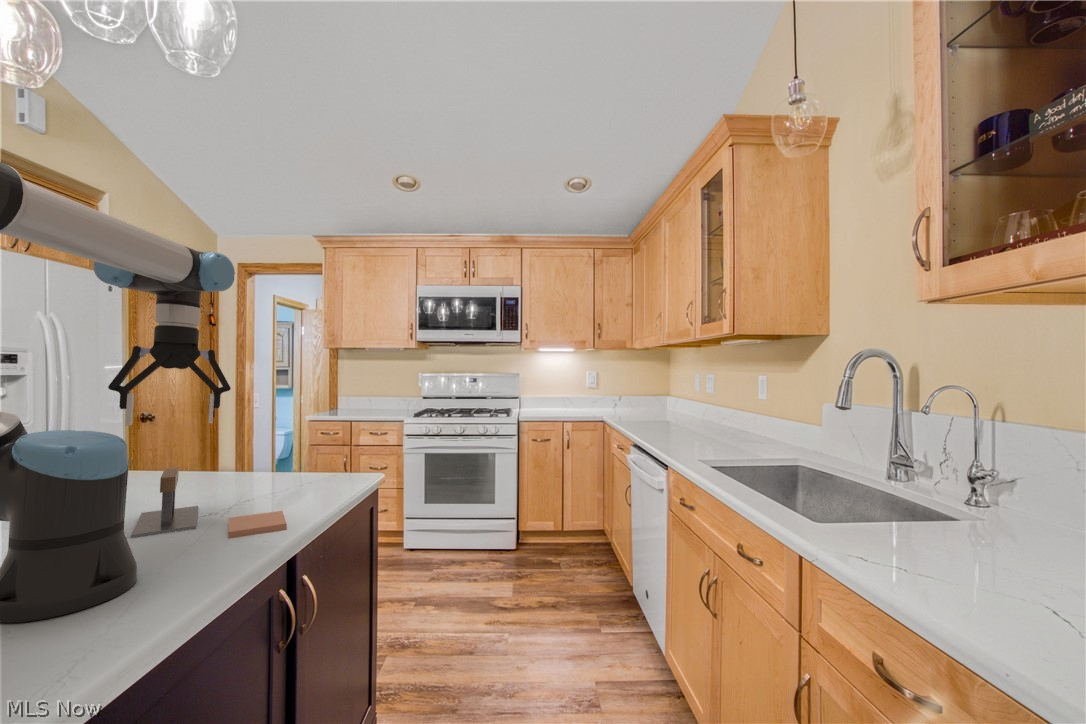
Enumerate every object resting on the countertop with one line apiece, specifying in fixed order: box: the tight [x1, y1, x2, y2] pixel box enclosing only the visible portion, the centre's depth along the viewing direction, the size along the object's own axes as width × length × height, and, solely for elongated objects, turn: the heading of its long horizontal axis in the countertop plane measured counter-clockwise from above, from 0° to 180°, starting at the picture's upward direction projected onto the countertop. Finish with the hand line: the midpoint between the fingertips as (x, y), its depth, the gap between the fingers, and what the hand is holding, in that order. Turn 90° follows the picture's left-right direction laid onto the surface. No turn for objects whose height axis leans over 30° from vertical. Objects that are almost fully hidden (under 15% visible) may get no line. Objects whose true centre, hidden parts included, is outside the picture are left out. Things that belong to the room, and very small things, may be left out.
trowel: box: [130, 466, 199, 539], centre depth 97 cm, size 16×10×11 cm, turn 36°
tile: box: [227, 510, 287, 539], centre depth 95 cm, size 2×10×10 cm
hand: (171, 424), depth 97 cm, fingers open, 13 cm apart
